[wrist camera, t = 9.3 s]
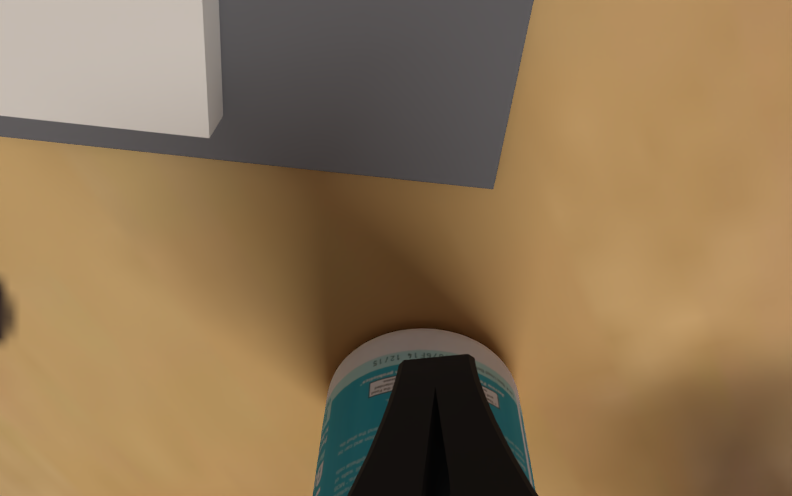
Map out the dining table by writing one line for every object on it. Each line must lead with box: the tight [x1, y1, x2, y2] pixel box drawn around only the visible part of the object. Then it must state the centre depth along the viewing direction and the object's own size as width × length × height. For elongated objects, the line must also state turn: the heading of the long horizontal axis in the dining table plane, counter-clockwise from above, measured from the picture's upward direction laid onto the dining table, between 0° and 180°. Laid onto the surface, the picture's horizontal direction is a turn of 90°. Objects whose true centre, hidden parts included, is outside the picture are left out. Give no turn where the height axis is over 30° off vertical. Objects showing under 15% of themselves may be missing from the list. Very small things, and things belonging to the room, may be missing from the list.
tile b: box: [0, 0, 223, 138], centre depth 17 cm, size 2×6×7 cm
